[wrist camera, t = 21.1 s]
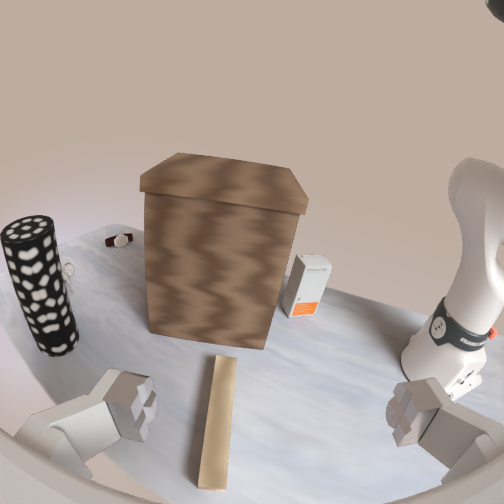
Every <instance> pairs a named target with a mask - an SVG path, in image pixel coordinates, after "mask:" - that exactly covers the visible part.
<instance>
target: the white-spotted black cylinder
mask: <svg viewBox="0 0 504 504" xmlns="http://www.w3.org/2000/svg"><path fill="white" fill-rule="evenodd" d="M0 239H1V243H2V247H3V251H4V255H5V259H6V263H7V266H8V270H9V273H10V276H11V280H12V283H13V286H14V289H15V292H16V295H17V297H18V300H19V303H20V306H21V308H22V311H23V313H24V316H25V318H26V321H27V323H28V326H29V328H30V330H31V332H32V335H33V337H34V339H35V341H36V343H37V345H38V347H39V349H40V351H41V352H42V353H44V354H46V355H48V356H53V357H58V356H63V355H65V354H67V353H69V352H70V351H72V350H73V349H74V348H75V346H76V345H77V343H78V340H79V332H78V329H77V326H76V323H75V319H74V316H73V313H72V309H71V306H70V302H69V298H68V294H67V290H66V286H65V282H64V278H63V273H62V269H61V264H60V259H59V254H58V248H57V242H56V236H55V229H54V223H53V219H51V218H50V217H48V216H43V215H35V216H28V217H24V218H21V219H18V220H16V221H14V222H12V223H10V224H9V225H8V226H6V227H5V228H4V229H3V230H2V232H1V234H0Z"/></svg>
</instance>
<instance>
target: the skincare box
mask: <svg viewBox="0 0 504 504" xmlns="http://www.w3.org/2000/svg"><path fill="white" fill-rule="evenodd" d="M332 268H333V265H332V264H331V263H330V262H329V261H328V260H327V259H326V258H325V256H324V255H313V254H308V255H296V257H295V261H294V264H293V268H292V271H291V274H290V278H289V281H288V284H287V288H286V291H285V294H284V298H283V301H282V307H283V309H284V310H285V312H286V314H287V316H288V318H291V317H301V316H314V315H315V312H316V310H317V307H318V305H319V302H320V300H321V297H322V295H323V292H324V289H325V287H326V284H327V282H328V279H329V276H330V273H331V271H332Z"/></svg>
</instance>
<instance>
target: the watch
mask: <svg viewBox="0 0 504 504" xmlns="http://www.w3.org/2000/svg"><path fill="white" fill-rule="evenodd" d="M132 240H133V236H132V234H130V233H129V234H121V235H116V236H113V237H110V238H107V239H106V240H105V242H106V246H107V247H110V246H118V247H124V246H125V245H126V244H127V243H128V242H130V241H132Z"/></svg>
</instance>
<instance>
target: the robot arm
mask: <svg viewBox="0 0 504 504" xmlns="http://www.w3.org/2000/svg"><path fill="white" fill-rule="evenodd" d="M485 2H486V5H487V7H488V8H489V10H490V11H491V13H492V14H493V15H494V16H495V17H496V18H497V19H499V20H500V21H502V22H503V23H504V0H485ZM448 194H449V200H450V204H451V207H452V210H453V211H454V213H455V215H456V217H457V220H458V222H459V225H460V229H461V233H462V240H463V251H462V258H461V262H460V266H459V269H458V271H457V274H456V276H455V279H454V281H453V283H452V285H451V287H450V289H449V291H448V293H447V295H446V296H445V297H443V299H442V300H441V302H440V303H439V304H438V306H437V308H436V310H435V312H434V314H432V315H431V316H430V317H429V318H428V320H427V321H426V322H425V324H424V325H423V326H422V328H421V329H420V330H419V332H418V333H417V334H414V335H412V337H411V338H410V340H409V345H408V346H407V347H406V348H405V349H404V350H403V352H402V355H401V364H402V368H403V370H404V372H405V374H406V376H407V377H408V379H409V380H410V381H409V382H403V383H398V384H397V385H396V386H395V388H394V391H393V393H394V395H395V396H394V397H393V398H392V399H391V400H390V401H389V402H388V405H387V407H386V419H387V422H388V425H389V426H391V427H392V428H394V431H393V433H392V435H393V437H394V439H395V442H396V444H397V447H401V446H406V445H411V444H415V443H418V444H419V445H420V446H421V447H422V448H424V449H425V450H426V451H427V452H429V453H430V454H431V455H432V456H434V457H435V458H436V459H437V460H439V461H440V462H441V463H442V464H444V465H445V466H446V467H448V468H449V469H450V470H449V471H448V472H447V473H446V474H445V476H444V477H443V478H442V480H441V482H442V484H443V485H440V486H438V487H435V488H433V489H430V490H427V491H424V492H422V493H419V494H416V495H413V496H410V497H406V498H403V499H400V500H396V501H392V502H389V503H385V504H504V426H503V425H502V424H500V423H498V422H496V421H494V420H492V419H489V418H487V417H485V416H483V415H481V414H479V413H477V412H475V411H473V410H471V409H469V408H467V407H465V406H462V405H460V404H458V403H455V404H454V403H453V401H455V400H456V399H458V398H460V397H461V396H463V395H465V394H466V393H468V392H470V391H471V390H473V389H474V388H476V387H477V386H479V385H480V383H481V375H480V370H481V368H482V367H483V366H484V364H485V363H486V353H485V349H484V344H485V342H486V340H487V337H489V339H493V338H494V337H495V336H496V334H497V331H496V330H495V329H494V327H493V326H492V325H493V323H494V322H495V320H496V318H497V317H498V315H499V314H500V312H501V310H502V309H503V307H504V270H503V268H502V266H501V265H500V263H499V261H498V259H497V257H496V253H497V249H498V246H499V245H500V244H502V245H504V169H502V168H500V167H499V166H497V165H495V164H493V163H489V162H486V161H483V160H479V159H474V158H469V157H468V158H466V159H464V160H463V161H461V162H460V163H459V164H458V165H457V166H456V168H455V169H454V170H453V172H452V175H451V177H450V181H449V188H448ZM153 387H154V383H153V379H152V378H151V377H149V376H145V375H140V374H136V373H132V372H127V371H122V370H118V369H114V368H110V369H108V370H107V371H106V373H105V374H104V375H103V376H102V378H101V379H100V380H99V382H98V383H97V384H96V386H95V387H94V388H93V390H92V391H91V392H90V394H89V395H85V394H84V395H82V396H79V397H77V398H74V399H72V400H69V401H67V402H64V403H62V404H59V405H57V406H55V407H51V408H49V409H46V410H43V411H41V412H38V413H35V414H32V415H31V416H30V418H29V419H28V420H27V421H26V422H25V424H24V425H23V426H22V427H21V428H20V430H19V431H18V432H17V434H16V435H15V436H14V437H12V436H11V435H10V434H8V433H7V432H5V431H4V430H3V429H1V428H0V504H161V503H157V502H153V501H149V500H146V499H143V498H139V497H135V496H133V495H129V494H127V493H123V492H121V491H118V490H115V489H112V488H110V487H107V486H104V485H102V484H99V483H97V482H95V481H92V480H91V478H92V473H91V472H90V470H89V469H88V468H87V466H86V465H85V464H84V462H85V461H87V460H89V459H90V458H92V457H93V456H95V455H96V454H98V453H100V452H101V451H103V450H104V449H106V448H107V447H109V446H110V445H112V444H113V443H115V442H116V441H118V440H119V439H121V437H123V438H127V439H131V440H135V441H139V442H143V443H144V441H145V439H146V437H147V434H148V432H149V430H150V428H149V425H148V423H149V422H151V421H153V420H154V418H155V416H156V413H157V408H158V400H157V396H156V394H155V393H154V392H153V391H152V389H153Z"/></svg>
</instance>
